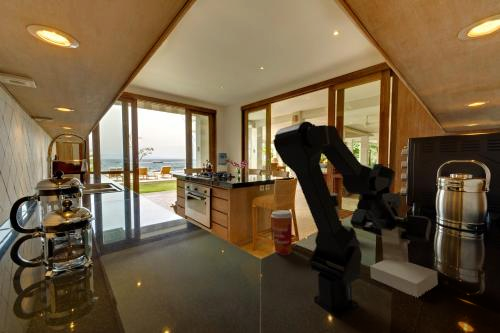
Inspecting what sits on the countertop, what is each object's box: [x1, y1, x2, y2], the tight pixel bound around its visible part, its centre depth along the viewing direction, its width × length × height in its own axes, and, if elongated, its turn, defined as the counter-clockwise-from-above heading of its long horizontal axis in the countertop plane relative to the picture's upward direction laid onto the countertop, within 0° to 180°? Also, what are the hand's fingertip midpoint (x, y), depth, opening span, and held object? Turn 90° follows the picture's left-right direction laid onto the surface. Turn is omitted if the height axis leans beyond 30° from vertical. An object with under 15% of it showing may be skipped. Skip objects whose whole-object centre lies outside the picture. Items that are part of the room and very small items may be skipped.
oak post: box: [381, 216, 409, 262], centre depth 60 cm, size 4×4×13 cm
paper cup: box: [270, 209, 294, 255], centre depth 72 cm, size 8×8×14 cm
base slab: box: [370, 257, 439, 299], centre depth 51 cm, size 10×10×3 cm
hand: (396, 239), depth 61 cm, fingers open, 6 cm apart
